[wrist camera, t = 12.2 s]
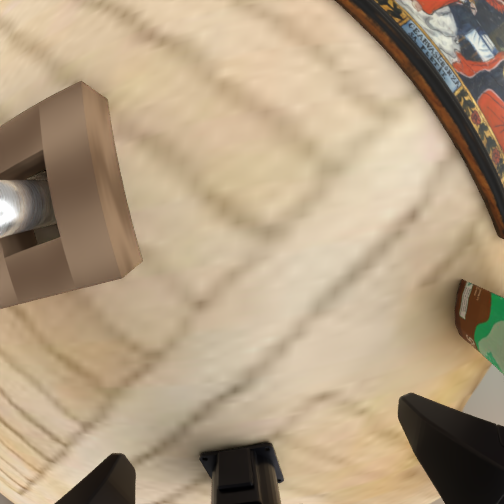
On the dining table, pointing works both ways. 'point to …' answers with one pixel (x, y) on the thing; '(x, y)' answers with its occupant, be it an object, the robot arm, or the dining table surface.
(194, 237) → the dining table surface
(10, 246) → the square hollow frame
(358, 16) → the framed icon painting
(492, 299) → the food container
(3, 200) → the cylinder
